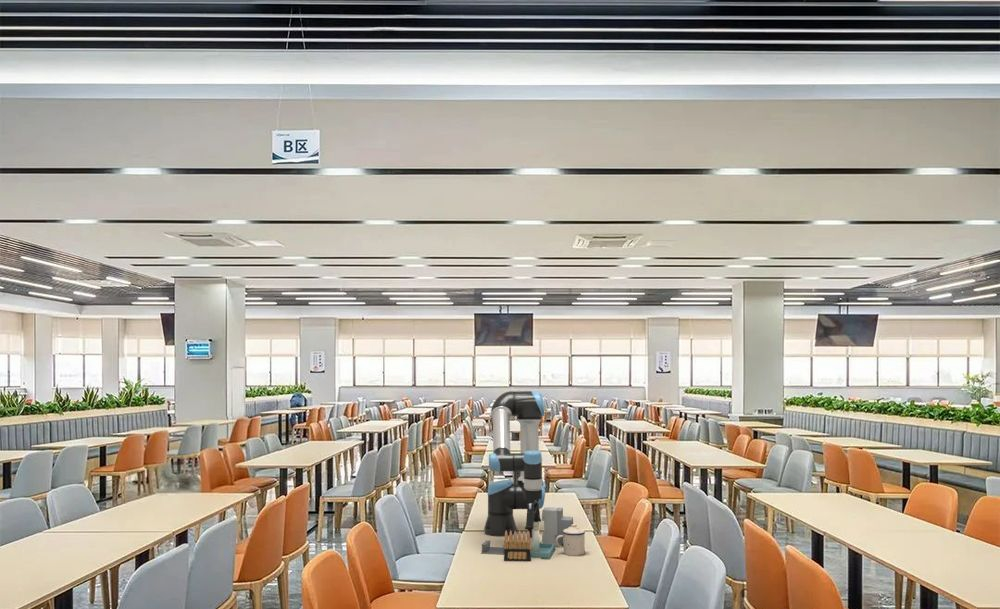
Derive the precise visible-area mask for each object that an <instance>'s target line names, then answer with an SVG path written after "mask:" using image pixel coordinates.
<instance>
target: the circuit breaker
mask: <svg viewBox="0 0 1000 609" xmlns="http://www.w3.org/2000/svg"><path fill="white" fill-rule="evenodd" d="M541 512H542V513H541V521H542V522H543V533H542V534H541V543H545V544H555V548H560V547H559V546H558V545H557V543H556V538H557V536H559V535H563V530H564V529H567V528H569V527H571V525H572V524H574V517H573V516H564V507H555V506H554V507H550V506H544V508H543V509H541ZM576 527H578V526H577V524H576ZM558 544H559V545H561V546H563V545H564V541H563V537H560V538H558Z"/></svg>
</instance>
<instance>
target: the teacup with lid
mask: <svg viewBox="0 0 1000 609" xmlns="http://www.w3.org/2000/svg"><path fill="white" fill-rule="evenodd" d="M576 525H577V524H576V523H573V524H572V525H571V527H569V528H567V529H564V530H563V535H559V536H557V538H556V543H557V545H558V546H559V547H558V548H561V549H563V554H565V555H567V556H571V557H572V556H574V557H575V556H577V557H578V556H584V554H585V553H586V551H585V550H586V549H585V544H586V543H585V542H586V538H585V534H586V531H585V530H584V529H582V528H580V527H579V526H576ZM560 537H563V545H562V546H561V545H559V544H558V538H560Z"/></svg>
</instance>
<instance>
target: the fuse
mask: <svg viewBox="0 0 1000 609" xmlns="http://www.w3.org/2000/svg"><path fill="white" fill-rule="evenodd" d="M533 529H534V546H531V552H539V549H540V543H541V542H540V539H541V538H539V537H540V525H539V526H535V525H533Z"/></svg>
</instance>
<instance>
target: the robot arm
mask: <svg viewBox="0 0 1000 609" xmlns="http://www.w3.org/2000/svg"><path fill="white" fill-rule="evenodd" d="M544 404H545V403H544V399H543V395H542V393H541V392H540V391H535V390H534V391H533V390H531V391H530V390H529V391H527V390H525V391H521V390H519V391H518V390H517V391H506V392H503V393H502V394H500V395H499V396H498V397H497V398H496V399H495V400H494V402H493V404H492V406H491V410H490V417H491V419H492V422H493V424H492V426H493V427H492V435H493V436H492V437H493V438H492V439H493V440H492V452H491V453H488V471H490V472H498V473H499V472H520V476H519V477H518V478H517V483H514V482H513V480H512V479H502V480H497V481H494V482H491V483H489V484H488V486H487V493H486V494H487V518H486V521H485V524H484V530H483V531H484V534H486V535H489V536H495V537H505V531H507V534H508V536H509V534H510V530H511V532H512V536H514V532H515V531H516V534H518V533H517V532H518V527H517V523H516V521H515V517H514V510H526V520H525V521H526V522H525V527H524V529H525V530H526V534H527V533H528V531H529V533H530V542H531V546H534V529H533V525H535V526H539V527H540V523H541V522H542V518H541V512H540V509H541V510H542V508H543V507H544V505H545V500H546V499H545V498H546V487H547V486H546V483H545V482H543V475H542V474H543V468H542V465H543V462H542V461H543V456H542V452H541V451H540V447H539V443H540V441H539V440H540V438H539V434H540V432H539V430H540V429H539V424H540V423H541V422H542V420H543V418H542V417H545V413H546V412H545V405H544ZM512 417H516V421H517V422H518V423H519V425H520V429H519V430H520V431H519V433H520V436H519V438H520V442H519V444H520V449H519V450H520V453H517V452H516V453H515V452H514V453H513V452H511V422H510V421H511V420H510V419H511V418H512ZM539 539H541V538H540V536H539Z"/></svg>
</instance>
